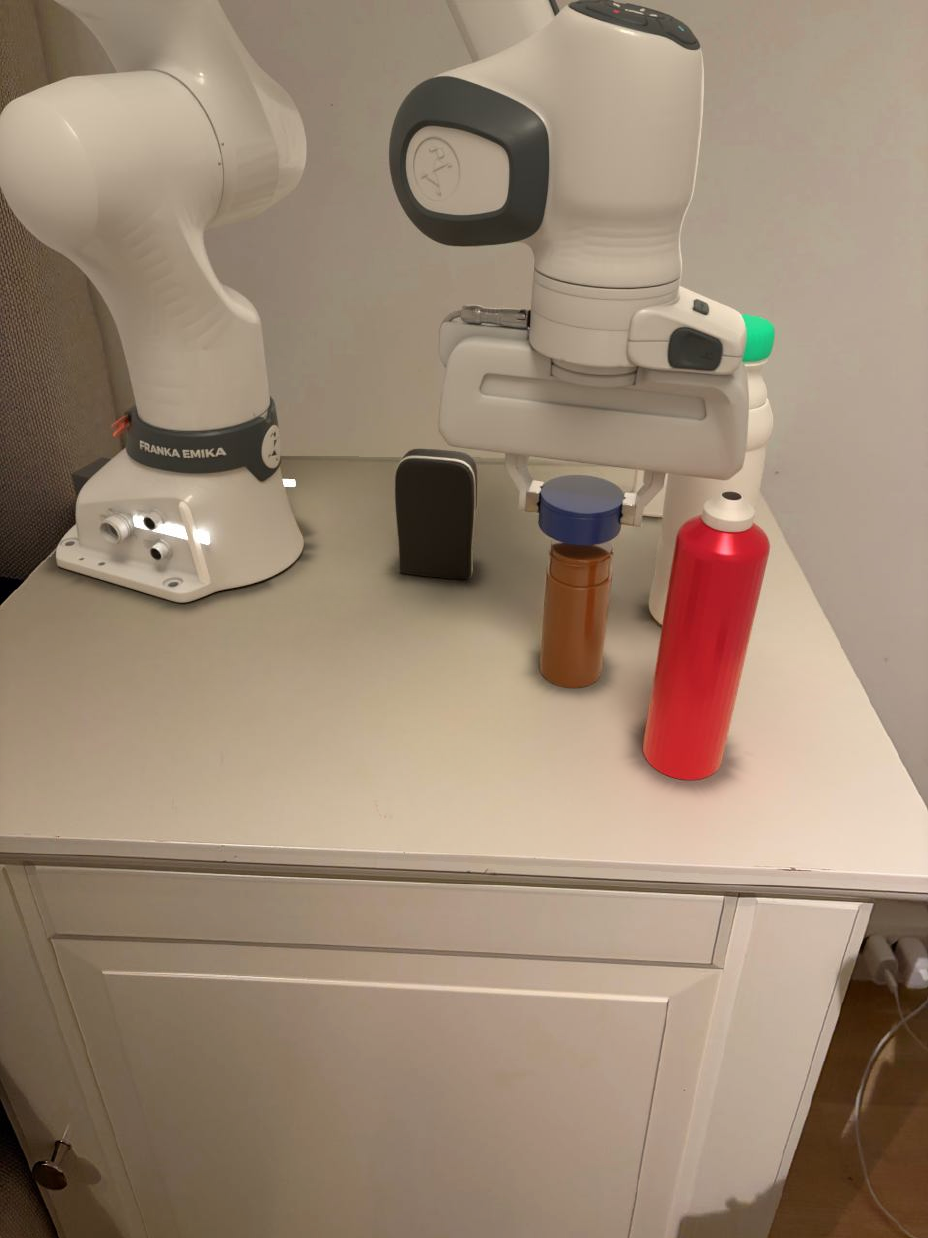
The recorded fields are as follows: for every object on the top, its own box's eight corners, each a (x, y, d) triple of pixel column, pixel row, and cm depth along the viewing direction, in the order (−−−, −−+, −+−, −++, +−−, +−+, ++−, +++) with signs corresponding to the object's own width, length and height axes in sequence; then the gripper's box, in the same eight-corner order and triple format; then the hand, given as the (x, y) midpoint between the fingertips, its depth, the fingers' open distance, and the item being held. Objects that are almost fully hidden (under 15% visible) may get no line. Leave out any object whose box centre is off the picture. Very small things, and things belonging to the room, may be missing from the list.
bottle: (737, 769, 64) (800, 509, 52) (668, 788, 62) (717, 524, 51) (694, 720, 68) (744, 469, 57) (628, 737, 66) (666, 482, 55)
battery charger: (478, 561, 86) (481, 446, 80) (472, 582, 83) (474, 465, 77) (405, 554, 87) (401, 440, 81) (396, 575, 84) (391, 458, 78)
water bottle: (733, 644, 76) (799, 339, 62) (645, 633, 77) (691, 331, 63) (730, 598, 81) (790, 309, 67) (649, 588, 83) (691, 302, 68)
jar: (534, 682, 71) (543, 557, 65) (545, 647, 75) (554, 525, 69) (596, 692, 70) (611, 566, 64) (604, 656, 74) (619, 533, 68)
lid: (562, 497, 69) (564, 467, 68) (634, 519, 67) (638, 488, 65) (523, 530, 65) (525, 498, 64) (598, 554, 62) (602, 521, 61)
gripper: (425, 316, 57) (426, 516, 65) (770, 350, 53) (726, 558, 61) (451, 288, 62) (449, 477, 70) (768, 317, 58) (727, 513, 66)
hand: (580, 515), depth 65 cm, fingers closed on lid, 6 cm apart
